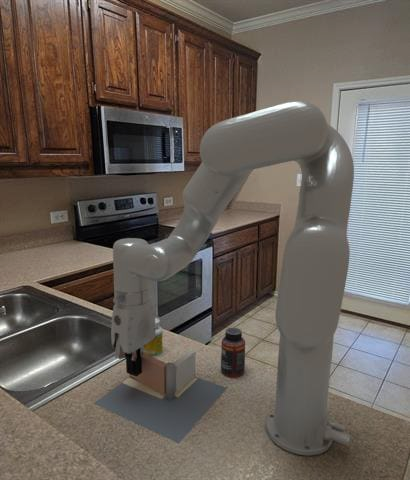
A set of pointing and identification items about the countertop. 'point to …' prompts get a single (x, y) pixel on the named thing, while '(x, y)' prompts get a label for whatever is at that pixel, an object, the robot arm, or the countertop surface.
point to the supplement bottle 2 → (233, 353)
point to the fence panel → (153, 373)
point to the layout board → (165, 400)
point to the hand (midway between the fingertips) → (134, 373)
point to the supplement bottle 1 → (155, 342)
